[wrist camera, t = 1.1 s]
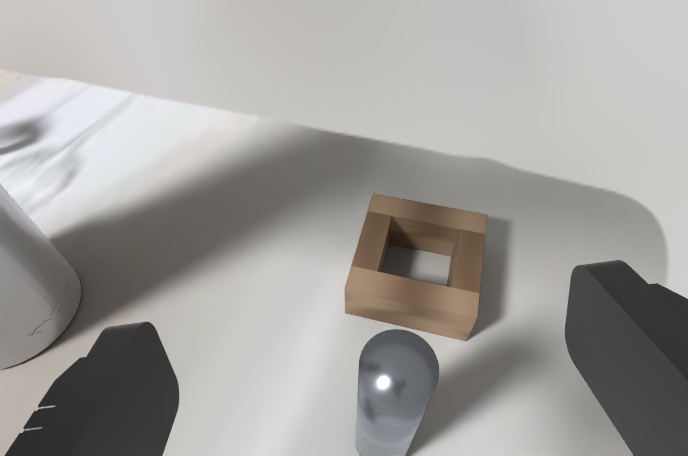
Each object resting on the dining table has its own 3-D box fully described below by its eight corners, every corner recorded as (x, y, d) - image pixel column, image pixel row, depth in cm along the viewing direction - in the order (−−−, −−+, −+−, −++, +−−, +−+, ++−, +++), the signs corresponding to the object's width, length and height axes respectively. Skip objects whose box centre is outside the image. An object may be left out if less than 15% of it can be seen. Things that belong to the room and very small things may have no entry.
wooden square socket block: (345, 313, 33) (344, 288, 31) (371, 221, 38) (372, 193, 36) (466, 341, 32) (477, 317, 29) (476, 242, 37) (487, 214, 34)
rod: (349, 461, 27) (350, 395, 18) (362, 407, 29) (368, 321, 20) (403, 476, 27) (433, 416, 17) (412, 420, 29) (443, 339, 19)
